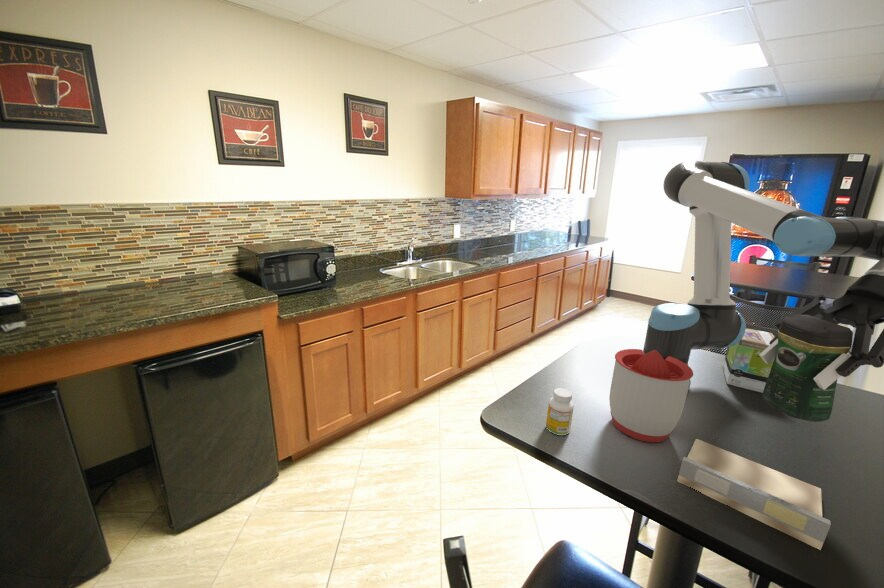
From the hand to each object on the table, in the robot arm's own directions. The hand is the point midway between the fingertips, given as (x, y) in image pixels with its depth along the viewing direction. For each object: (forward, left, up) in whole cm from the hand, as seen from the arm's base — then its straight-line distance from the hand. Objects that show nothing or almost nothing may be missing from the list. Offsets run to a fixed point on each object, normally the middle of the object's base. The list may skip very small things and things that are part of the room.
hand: (789, 371), depth 70 cm
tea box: (-7, +49, -23) cm, 55 cm away
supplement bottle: (-35, -18, -23) cm, 45 cm away
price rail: (-1, -15, -21) cm, 26 cm away
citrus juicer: (-22, -2, -23) cm, 32 cm away
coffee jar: (+2, +3, -8) cm, 9 cm away
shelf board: (-1, -8, -23) cm, 24 cm away
